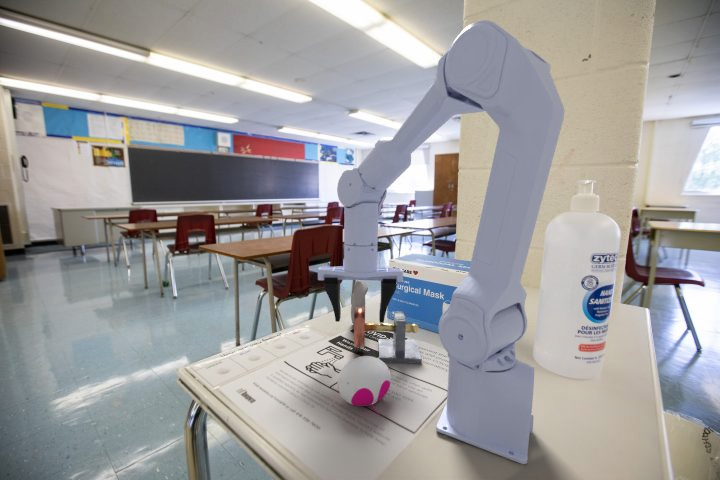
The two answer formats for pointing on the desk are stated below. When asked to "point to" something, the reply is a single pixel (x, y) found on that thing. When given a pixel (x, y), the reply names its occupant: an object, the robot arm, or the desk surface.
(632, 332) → the desk surface
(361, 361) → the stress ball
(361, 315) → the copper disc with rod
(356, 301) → the fossil
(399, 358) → the eye post
